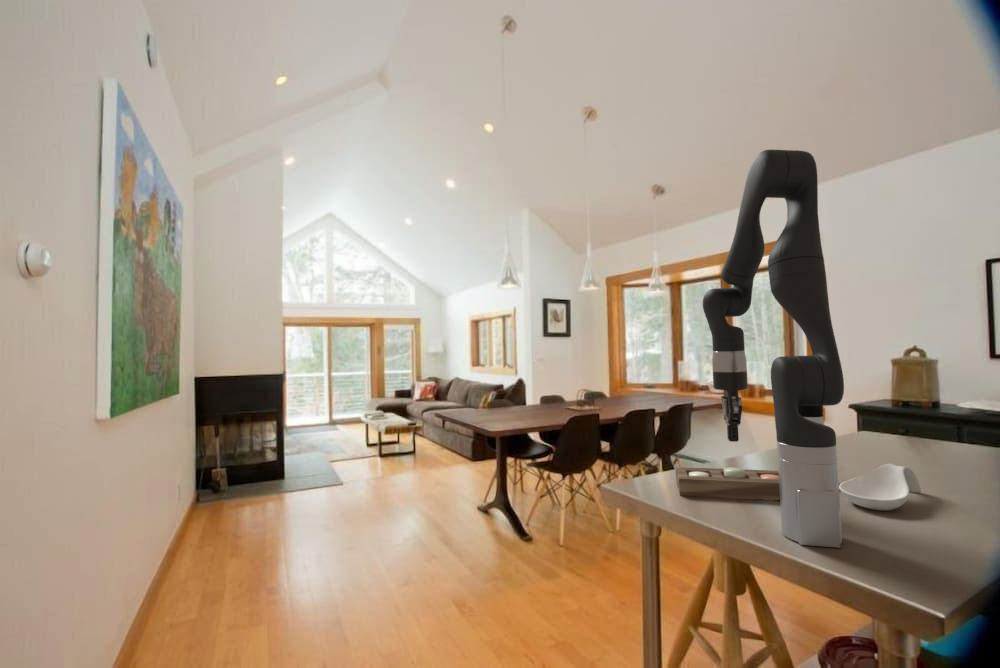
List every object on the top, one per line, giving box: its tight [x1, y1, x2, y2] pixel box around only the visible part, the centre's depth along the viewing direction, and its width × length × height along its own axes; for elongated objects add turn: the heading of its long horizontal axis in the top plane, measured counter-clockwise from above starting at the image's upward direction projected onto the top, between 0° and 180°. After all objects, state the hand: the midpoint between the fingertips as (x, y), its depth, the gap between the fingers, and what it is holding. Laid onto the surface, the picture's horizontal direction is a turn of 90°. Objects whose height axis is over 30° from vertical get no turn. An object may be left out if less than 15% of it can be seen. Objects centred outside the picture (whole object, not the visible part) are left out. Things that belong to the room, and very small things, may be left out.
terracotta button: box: [760, 474, 779, 480], centre depth 110 cm, size 5×5×3 cm
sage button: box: [723, 466, 746, 478], centre depth 113 cm, size 5×5×3 cm
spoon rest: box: [839, 463, 922, 512], centre depth 103 cm, size 24×12×7 cm, turn 121°
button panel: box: [675, 466, 780, 501], centre depth 113 cm, size 11×26×4 cm, turn 73°
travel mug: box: [797, 405, 825, 425], centre depth 119 cm, size 6×7×20 cm
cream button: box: [689, 472, 709, 477], centre depth 115 cm, size 5×5×3 cm
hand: (733, 440), depth 113 cm, fingers closed
